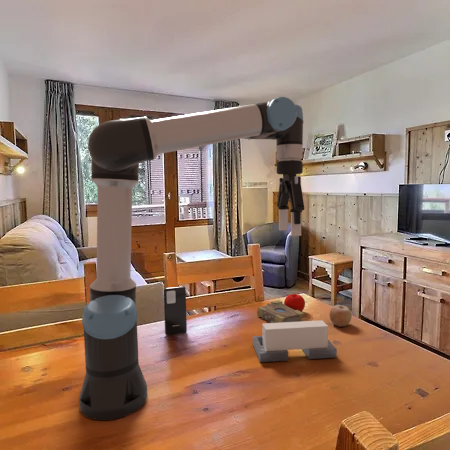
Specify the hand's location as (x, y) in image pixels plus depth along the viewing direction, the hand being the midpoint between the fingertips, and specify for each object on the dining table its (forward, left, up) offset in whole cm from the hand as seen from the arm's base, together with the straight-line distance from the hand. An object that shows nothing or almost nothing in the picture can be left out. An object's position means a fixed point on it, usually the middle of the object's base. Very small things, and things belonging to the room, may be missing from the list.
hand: (289, 232), depth 106 cm
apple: (+10, +27, -35) cm, 45 cm away
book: (+2, +21, -35) cm, 41 cm away
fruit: (+22, +13, -35) cm, 43 cm away
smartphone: (-35, +13, -35) cm, 51 cm away
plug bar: (0, -6, -34) cm, 35 cm away
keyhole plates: (0, -2, -35) cm, 35 cm away
